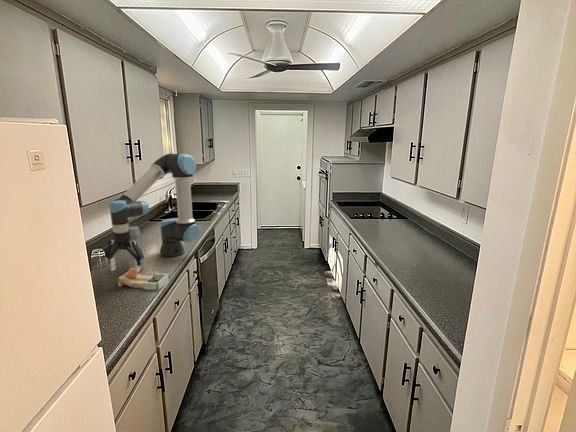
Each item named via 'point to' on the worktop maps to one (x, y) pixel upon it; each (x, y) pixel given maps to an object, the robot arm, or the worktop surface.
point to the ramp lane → (134, 280)
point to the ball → (132, 272)
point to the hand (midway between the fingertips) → (125, 270)
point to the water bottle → (136, 236)
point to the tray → (156, 286)
